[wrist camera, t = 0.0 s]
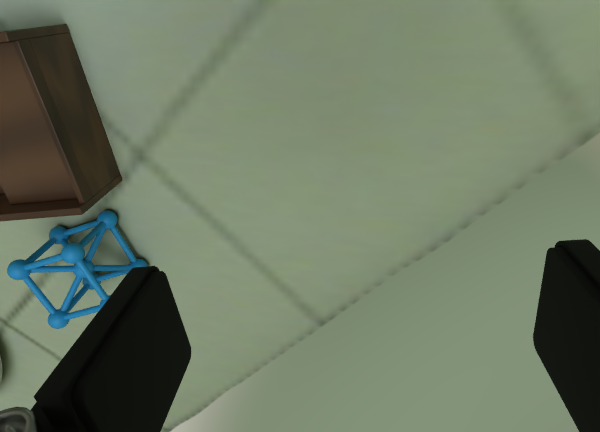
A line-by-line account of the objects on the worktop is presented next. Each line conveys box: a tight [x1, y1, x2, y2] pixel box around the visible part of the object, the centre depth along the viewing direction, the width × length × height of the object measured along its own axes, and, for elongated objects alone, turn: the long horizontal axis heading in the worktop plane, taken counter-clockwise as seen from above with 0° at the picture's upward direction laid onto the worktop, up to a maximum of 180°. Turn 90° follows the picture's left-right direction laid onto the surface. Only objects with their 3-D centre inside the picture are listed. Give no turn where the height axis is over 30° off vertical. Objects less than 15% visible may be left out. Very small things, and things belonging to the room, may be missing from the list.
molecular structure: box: [7, 211, 148, 329], centre depth 52 cm, size 10×10×10 cm
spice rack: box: [0, 24, 122, 221], centre depth 44 cm, size 18×16×9 cm
